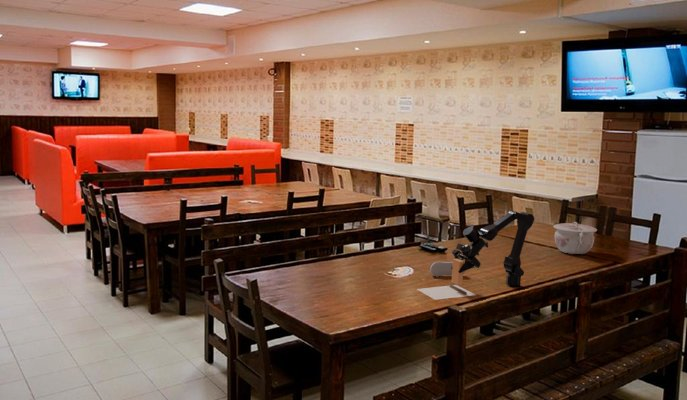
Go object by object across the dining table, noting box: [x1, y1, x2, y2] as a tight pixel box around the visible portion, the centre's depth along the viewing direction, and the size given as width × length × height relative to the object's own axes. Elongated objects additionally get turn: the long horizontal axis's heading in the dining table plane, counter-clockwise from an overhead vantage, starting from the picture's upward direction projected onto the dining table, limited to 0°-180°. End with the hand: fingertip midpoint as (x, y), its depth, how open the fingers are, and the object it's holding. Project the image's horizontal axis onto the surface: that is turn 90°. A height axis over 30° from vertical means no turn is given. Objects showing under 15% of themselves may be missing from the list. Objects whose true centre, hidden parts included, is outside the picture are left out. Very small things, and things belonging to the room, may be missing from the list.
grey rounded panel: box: [429, 261, 466, 278], centre depth 335 cm, size 20×2×8 cm, turn 96°
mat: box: [416, 284, 476, 301], centre depth 305 cm, size 24×18×1 cm
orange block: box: [450, 258, 465, 286], centre depth 306 cm, size 3×6×12 cm, turn 23°
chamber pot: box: [552, 221, 598, 255], centre depth 400 cm, size 28×28×21 cm
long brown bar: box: [448, 284, 467, 295], centre depth 308 cm, size 1×14×1 cm, turn 23°
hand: (455, 270), depth 305 cm, fingers closed on orange block, 6 cm apart
